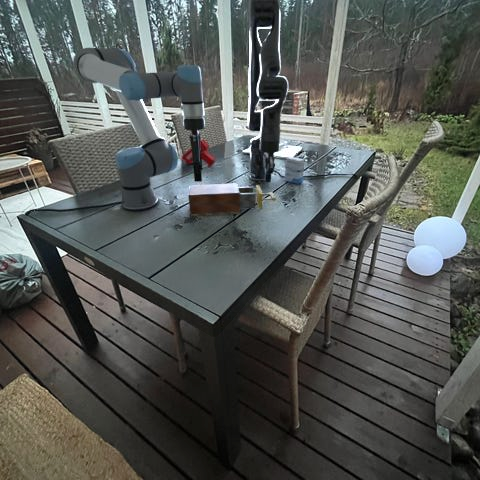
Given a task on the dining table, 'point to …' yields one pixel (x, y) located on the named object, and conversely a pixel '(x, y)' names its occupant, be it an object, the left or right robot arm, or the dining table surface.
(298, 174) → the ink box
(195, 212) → the cabinet
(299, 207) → the dining table surface
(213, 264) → the dining table surface
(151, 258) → the dining table surface
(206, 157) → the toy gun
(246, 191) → the drawer
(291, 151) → the relief map
